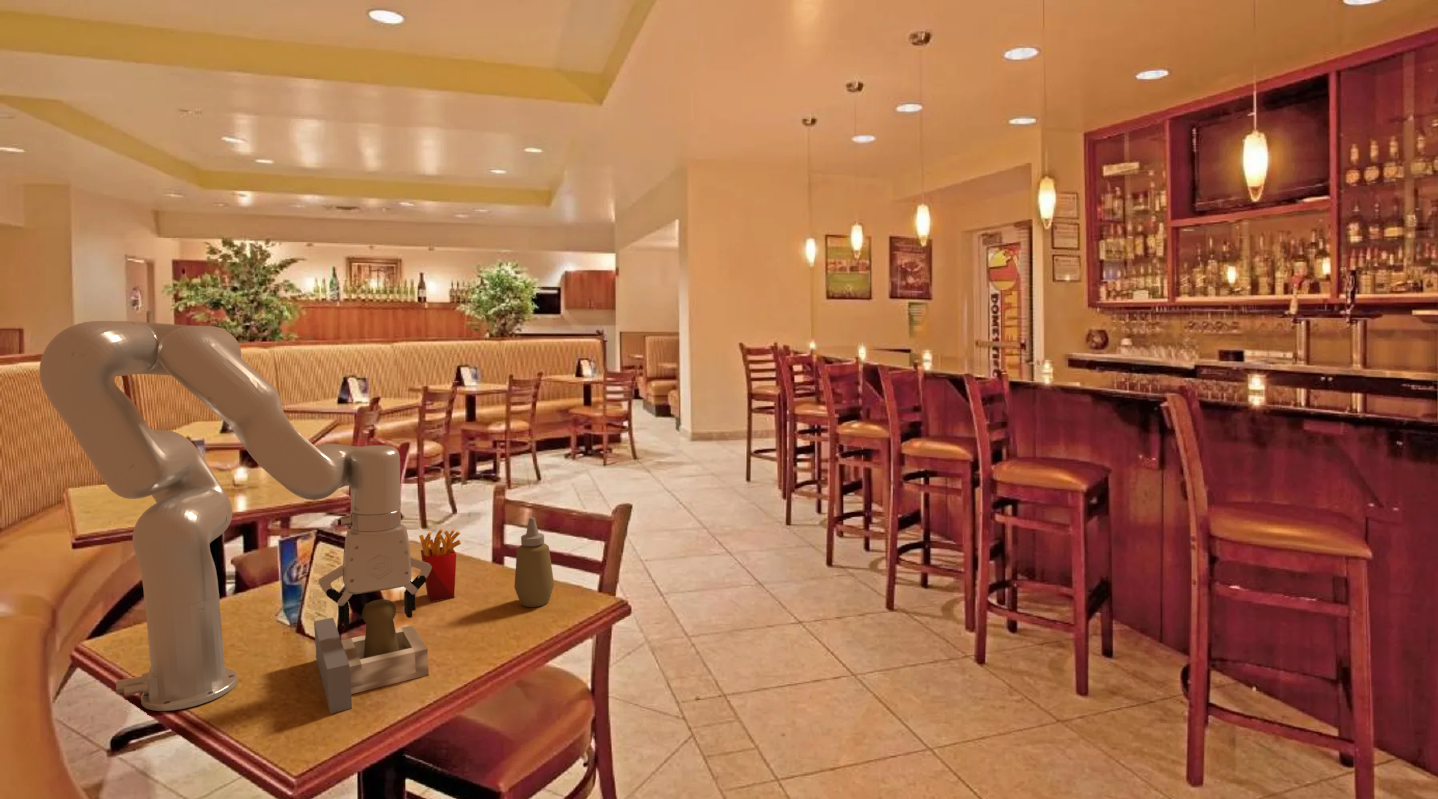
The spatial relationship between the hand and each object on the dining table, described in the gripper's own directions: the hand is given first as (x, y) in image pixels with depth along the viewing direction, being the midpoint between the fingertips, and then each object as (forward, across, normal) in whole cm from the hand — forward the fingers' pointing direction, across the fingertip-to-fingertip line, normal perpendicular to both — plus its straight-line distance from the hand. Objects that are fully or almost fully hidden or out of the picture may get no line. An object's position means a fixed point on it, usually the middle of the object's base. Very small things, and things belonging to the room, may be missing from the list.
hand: (377, 620), depth 127 cm
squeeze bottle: (+8, +33, +16) cm, 37 cm away
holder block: (+9, +1, 0) cm, 9 cm away
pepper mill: (+8, +1, 0) cm, 8 cm away
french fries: (+9, +18, +30) cm, 36 cm away
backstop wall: (+9, -7, 0) cm, 11 cm away
